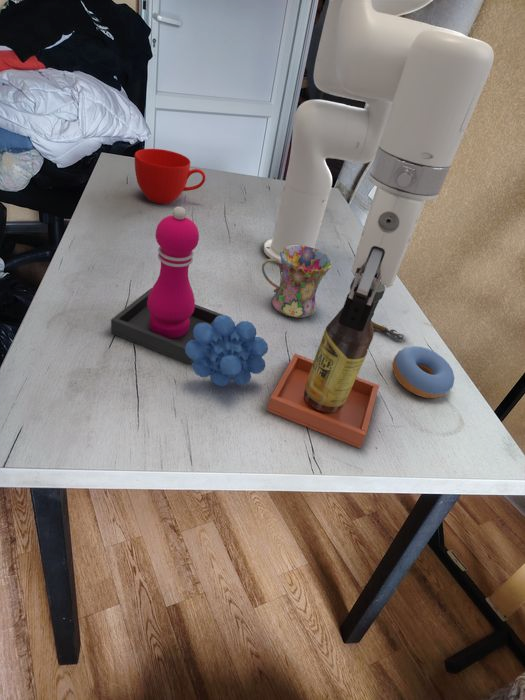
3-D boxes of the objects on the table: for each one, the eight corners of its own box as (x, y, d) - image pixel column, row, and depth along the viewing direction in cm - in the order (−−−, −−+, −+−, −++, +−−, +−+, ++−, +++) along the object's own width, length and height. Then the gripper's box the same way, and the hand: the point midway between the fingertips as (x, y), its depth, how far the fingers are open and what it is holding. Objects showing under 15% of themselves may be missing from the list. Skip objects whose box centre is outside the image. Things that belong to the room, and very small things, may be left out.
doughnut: (459, 401, 77) (472, 379, 74) (407, 405, 73) (418, 383, 71) (426, 361, 84) (437, 340, 81) (377, 363, 81) (387, 342, 78)
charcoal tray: (150, 300, 82) (151, 287, 81) (221, 327, 80) (224, 314, 79) (110, 333, 73) (110, 319, 72) (190, 364, 71) (191, 351, 70)
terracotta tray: (291, 365, 76) (294, 353, 74) (373, 397, 73) (379, 385, 72) (266, 410, 66) (270, 397, 65) (359, 448, 64) (366, 435, 63)
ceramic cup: (199, 216, 115) (203, 174, 109) (127, 202, 113) (128, 159, 107) (204, 197, 125) (209, 158, 119) (139, 185, 123) (141, 144, 117)
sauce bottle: (298, 384, 71) (337, 264, 60) (338, 388, 72) (384, 271, 61) (306, 415, 66) (350, 289, 55) (348, 419, 67) (400, 297, 56)
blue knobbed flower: (182, 406, 64) (192, 335, 57) (179, 373, 69) (187, 303, 62) (266, 406, 67) (284, 338, 60) (257, 374, 72) (273, 308, 65)
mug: (312, 297, 94) (326, 248, 88) (320, 324, 87) (337, 273, 80) (252, 290, 92) (262, 239, 86) (256, 317, 85) (267, 264, 78)
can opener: (358, 323, 89) (360, 318, 89) (362, 318, 91) (364, 313, 90) (403, 344, 87) (405, 339, 86) (406, 339, 88) (409, 334, 88)
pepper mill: (183, 345, 73) (197, 223, 62) (138, 333, 74) (144, 209, 62) (197, 321, 79) (213, 205, 67) (156, 309, 80) (164, 192, 68)
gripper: (438, 206, 43) (371, 363, 54) (446, 166, 56) (391, 298, 67) (358, 182, 44) (309, 339, 55) (384, 148, 57) (340, 280, 68)
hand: (354, 315), depth 61 cm, fingers closed on sauce bottle, 4 cm apart
